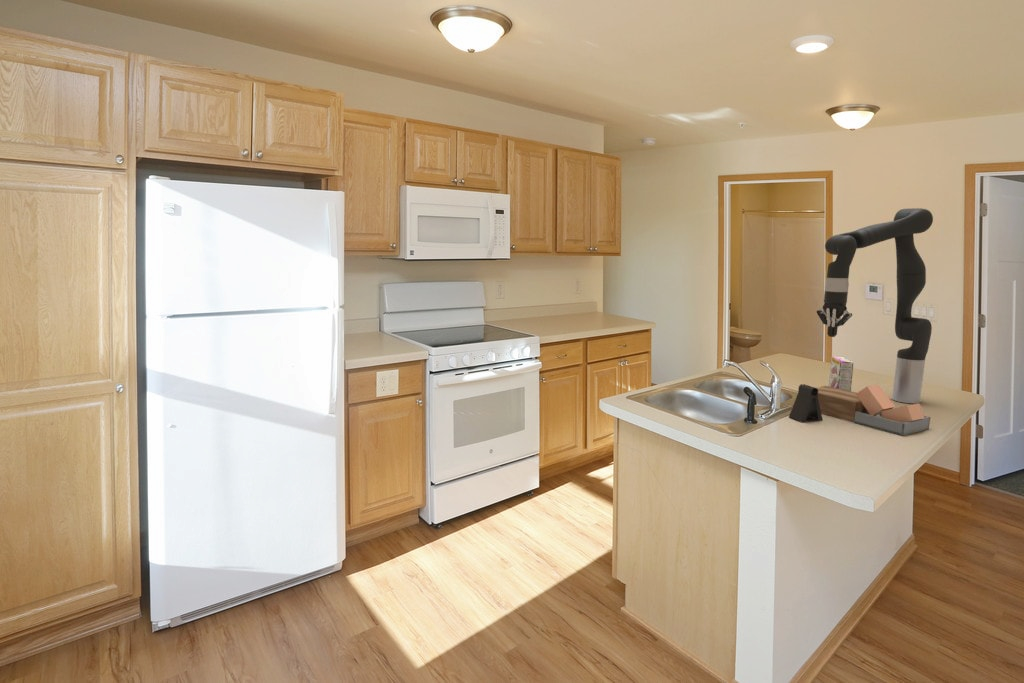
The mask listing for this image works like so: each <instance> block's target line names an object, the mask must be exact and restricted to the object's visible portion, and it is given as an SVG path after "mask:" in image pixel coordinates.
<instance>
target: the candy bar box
mask: <svg viewBox="0 0 1024 683" xmlns="http://www.w3.org/2000/svg"><path fill="white" fill-rule="evenodd" d="M830 358H831V359H830V366H829V367H830V368H829V379H828V380H829V381H828V382H829V383H828V386H829V387H833V388H838V389H842V390H847V391H851V392H852V382H853V381H852V380H853V372H854V361H852V360H849V359H847V358H846V357H843V356H831V357H830Z"/></svg>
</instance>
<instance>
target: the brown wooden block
mask: <svg viewBox="0 0 1024 683" xmlns="http://www.w3.org/2000/svg"><path fill="white" fill-rule="evenodd" d="M815 388H817V389H818V400H819V405H820V410H821V414H822V415H826V416H831V417H834V418H837V419H841V420H845V421H849V422H853V423H854V419H855V412H856V411H857V412H861V413H865V414H869V412H868V411H867V409H866V408H865V407H864V405H863V404H862V402H861V401H860V400H859V398H858V397H857V395H856V393H857V392H856V391H852V390H851V391H847V390H842V389H838V388H833V387H829V385H828V386H827V385H822V386H816V387H815ZM869 415H870V414H869ZM876 416H878V415H876Z"/></svg>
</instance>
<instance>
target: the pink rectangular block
mask: <svg viewBox="0 0 1024 683" xmlns="http://www.w3.org/2000/svg"><path fill="white" fill-rule="evenodd" d="M856 395H857V397H858V398H859V400H860V401H861V402H862V404H863V405H864V407H865V408H866V409H867V411H868V412H869V414H870V415H873V416H876V415H877V416H878V415H880V414H881V411H884V410H889V409H892V408H893V409H894V408H896V406H895V404H894V403H893V402H892V401H891V399H890V398H889V397H888V395H887V394H886V392H885V391H884V390H883V388H882V387H881V385H880V384H873V385H868V386H866V387H864V388H862V389H861V390H859V391H857V392H856Z"/></svg>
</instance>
